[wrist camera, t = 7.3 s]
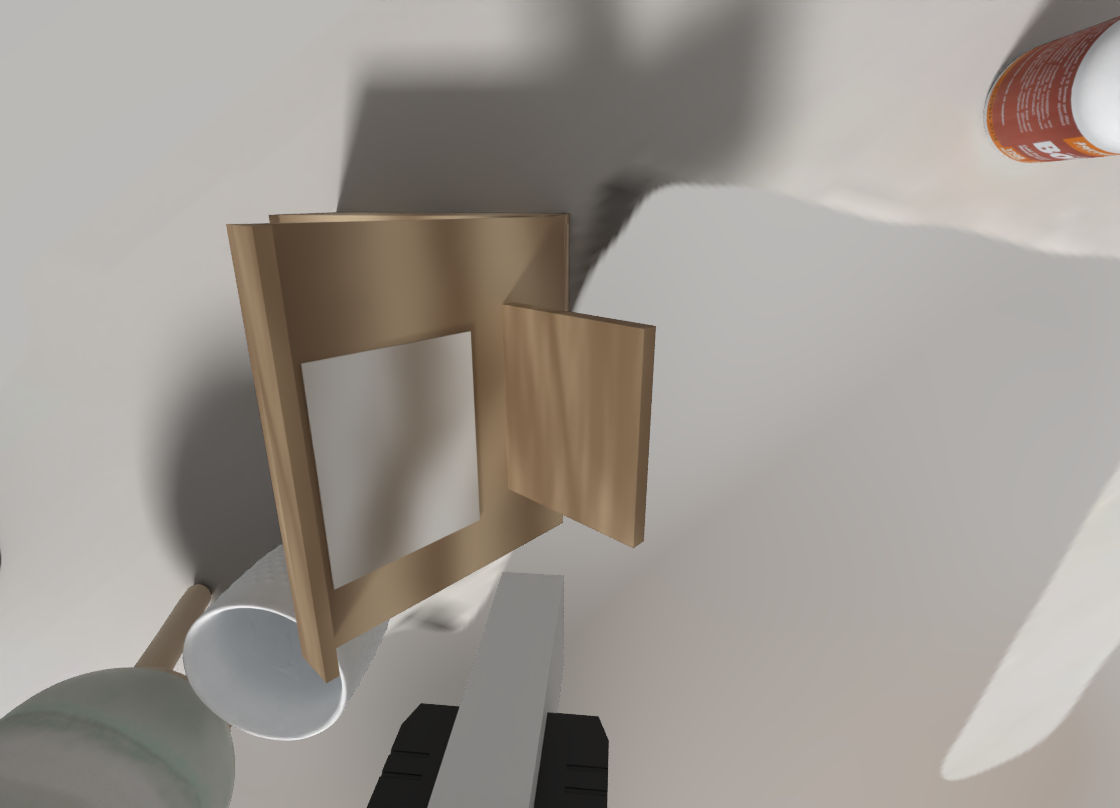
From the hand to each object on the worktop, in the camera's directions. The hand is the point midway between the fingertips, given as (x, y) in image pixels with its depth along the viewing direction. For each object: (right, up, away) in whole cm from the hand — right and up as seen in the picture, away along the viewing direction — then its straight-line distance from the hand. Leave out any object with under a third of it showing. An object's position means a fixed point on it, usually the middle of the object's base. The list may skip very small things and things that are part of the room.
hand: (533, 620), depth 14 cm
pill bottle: (+28, +23, +19) cm, 41 cm away
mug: (-18, -8, +35) cm, 40 cm away
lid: (-5, +5, +14) cm, 15 cm away
